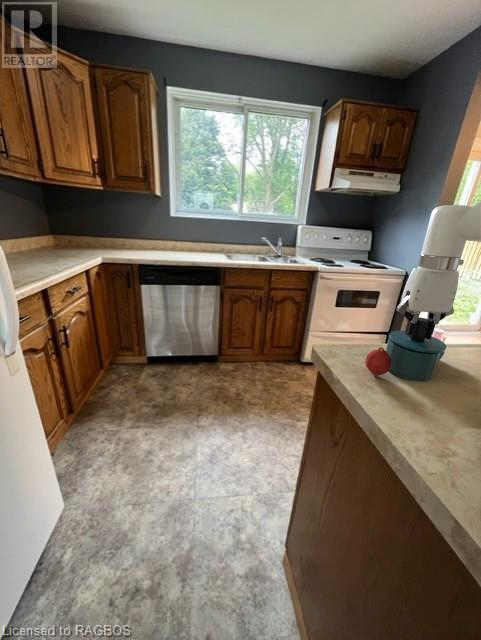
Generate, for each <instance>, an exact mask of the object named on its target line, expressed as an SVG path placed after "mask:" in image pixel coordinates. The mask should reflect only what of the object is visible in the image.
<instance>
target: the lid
mask: <svg viewBox="0 0 481 640" xmlns="http://www.w3.org/2000/svg"><path fill="white" fill-rule="evenodd" d="M416 323H417V324H418V328H417V332H416V335H415V338H414V339H411V338H409V337H408V336H407V335H406V334H405V330H393V331H391V332H390V333H389V334H388V339H389V338H390V340H391V341H393V342H394V343H396V344H398V345H400V346H402V347H405V348H408V349H411V350H415V351H420V352H427V353H440V352H443V351H444V352H445V351H446V350H447V345H446V343H445V342H444V341H442V340H441V339H439V338H437V337H434V336H432V337H431V339H430V340H429V339H426V338H425V337H426V333H427V330H428V326H429V323H430V320H428V319H427V318H425V317H422V316H421V317H420V316H419V318H418V320H417V322H416Z"/></svg>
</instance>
